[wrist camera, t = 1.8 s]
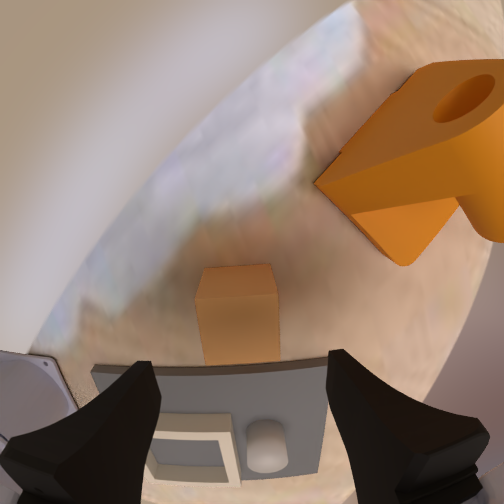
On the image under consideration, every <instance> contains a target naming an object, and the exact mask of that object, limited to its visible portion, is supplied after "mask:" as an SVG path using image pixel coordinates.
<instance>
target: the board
mask: <svg viewBox="0 0 504 504" xmlns="http://www.w3.org/2000/svg"><path fill="white" fill-rule="evenodd" d="M327 365H328V357H324V358H317V359H308V360H300V361H290V362H280V363H269V364H256V365H241V366H222V367H186V368H161V367H153V370H154V373H155V377H156V380H157V383H158V386H159V389H160V392H161V396H162V400H161V407H160V413H159V418H158V422H157V425H156V429H155V432H154V435H153V439H152V442H151V445H150V449H149V452H148V455H147V459H146V464H145V469H144V478H145V479H146V481H147V482H148V483H152V484H162V485H172V486H187V487H241V480H258V479H272V478H282V477H291V476H299V475H307V474H313V473H317V472H318V466H319V461H320V455H321V449H322V443H323V436H324V429H325V422H326V415H327V407H328V397H327V393H326V388H325V387H326V376H327ZM129 368H130V367H125V366H106V365H95V366H94V367H93V369H92V370H91V375H92V377H93V379H94V382H95V384H96V386H97V389H98V391H99V393H100V394H101V393H102V392H103V391H104V390H105V389H107V388H108V387H109V386H110V385H111V384H112V383H113V382H115V381H116V380H117V379H118V378H119V377H120V376H121V375H122V374H123V373H124V372H125V371H127V370H128V369H129Z"/></svg>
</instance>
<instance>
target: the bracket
mask: <svg viewBox="0 0 504 504" xmlns="http://www.w3.org/2000/svg"><path fill="white" fill-rule="evenodd" d="M339 152H340V153H341V154H340V155H339V156H338V157H337V158H336V159H335V161H334V162H333V163H332V164H331V165H330V166H329V167H328V168H327V169H326V170H325V172H324V173H323V174H322V175H321V176H320V177H319V178H318V179H317V180H316V181H315V183H314V184H315V185H316V186H317V187H318V188H319V189H320V190H321V191H322V192H323V193H324V194H325V195H326V196H327V197H328V198H329V199H330V200H331V201H332V202H333V203H334V204H335V205H336V206H337V207H338V208H339V209H340V210H341V211H342V212H343V213H344V214H345V215H346V216H347V217H348V218H349V219H350V220H351V221H352V222H353V223H354V224H355V225H356V226H357V227H358V228H359V229H360V230H361V231H362V232H363V233H364V235H365V236H366V237H367V238H368V239H369V240H370V241H371V242H372V243H373V244H374V245H375V246H376V247H377V248H378V249H379V251H380V252H381V253H382V254H383V255H385V256H386V257H388V258H389V259H390V260H392V261H393V262H395V263H396V264H397V265H399V266H408V265H410V264H412V263H413V262H414V261H415V260H416V259H417V258H418V257H419V255H420V254H421V253H422V252H423V251H424V249H425V248H426V247H427V246H428V245H429V243H430V242H431V241H432V240H433V239H434V237H435V236H436V235H437V234H438V232H439V231H440V230H441V229H442V227H443V226H444V225H445V223H446V222H447V221H448V220H449V218H450V217H451V216H452V214H453V213H454V212H455V210H456V209H457V208H458V206H459V205H460V206H461V208H462V209H463V211H464V213H465V214H466V216H467V218H468V219H469V221H470V223H471V224H472V226H473V228H474V229H475V231H476V232H477V233H478V234H479V235H481V236H482V237H484V238H485V239H487V240H490V241H493V242H498V243H504V59H480V60H459V61H445V62H435V63H431V64H428V65H426V66H424V67H422V68H419V69H417V70H416V71H415V73H414V74H413V75H412V76H411V77H410V78H409V79H408V80H407V81H406V82H405V84H404V85H403V86H402V87H401V88H400V89H399V90H398V91H397V92H395V93H392V94H391V95H390V96H389V97H388V98H387V100H386V101H385V102H384V103H383V104H382V105H381V106H380V107H379V108H378V109H377V110H376V112H375V113H374V114H373V115H372V116H371V117H370V118H369V119H368V120H367V121H366V122H365V124H364V125H363V126H362V127H361V128H360V129H359V130H358V131H357V132H356V133H355V135H354V136H353V137H352V138H351V139H350V140H349V141H348V142H347V143H346V144H345V146H344V147H343V148H342V149H341V150H340V151H339Z"/></svg>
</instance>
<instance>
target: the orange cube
mask: <svg viewBox="0 0 504 504" xmlns="http://www.w3.org/2000/svg"><path fill="white" fill-rule="evenodd" d="M195 306H196V312H197V318H198V324H199V330H200V336H201V342H202V348H203V353H204V359H205V364H206V365H229V364H246V363H260V362H272V361H280V327H279V297H278V290H277V287H276V283H275V280H274V276H273V272H272V269H271V265H270V264H257V265H243V266H229V267H215V268H204V272H203V275H202V278H201V281H200V284H199V287H198V290H197V293H196V296H195Z"/></svg>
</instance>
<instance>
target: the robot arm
mask: <svg viewBox="0 0 504 504" xmlns="http://www.w3.org/2000/svg"><path fill="white" fill-rule="evenodd" d="M325 388H326V393H327V397H328V401H329V405H330V409H331V412H332V414H333V417H334V419H335V422H336V425H337V427H338V430H339V432H340V435H341V437H342V440H343V443H344V445H345V448H346V451H347V454H348V457H349V461H350V466H351V470H352V474H353V479H354V483H355V488H356V493H357V499H358V504H504V462H503V463H502V464H500V465H498V466H497V467H495V468H494V469H492V470H490V471H488V472H487V473H485V474H484V475H483V476H481V477H480V478H479V479H478V477H477V476H476V474H475V473H477V472H478V468H477V466H476V465H475V462H476V461H477V460H478V458H479V457H480V455H481V454H482V453H483V451H484V450H485V448H486V446H487V445H488V442H489V439H490V435H489V433H488V431H487V430H486V429H485V427H484V426H483V425H482V423H481V422H480V421H479V419H478V418H473V417H468V416H462V415H457V414H453V413H449V412H446V411H443V410H439V409H436V408H433V407H431V406H428V405H426V404H423V403H421V402H419V401H416V400H414V399H412V398H410V397H408V396H407V395H405V394H403V393H401V392H399V391H397V390H396V389H394V388H393V387H391V386H390V385H388V384H387V383H385V382H384V381H382V380H381V379H379V378H378V377H377V376H375V375H374V374H373V373H371V372H370V371H369V370H368V369H366V368H365V367H364V366H363V365H361V364H360V363H359V362H358V361H357V360H356V359H354V358H353V357H352V356H351V355H350V354H349V353H347V352H346V351H345V350H344V349H338V350H331V351H329V353H328V365H327V376H326V387H325ZM161 400H162V396H161V392H160V389H159V386H158V383H157V380H156V377H155V373H154V370H153V366H152V363H151V361H137V362H136V363H134V364H133V365H132V366H131V367H130V368H129V369H128V370H127V371H125V372H124V373H123V374H122V375H121V376H120V377H119V378H118V379H117V380H116V381H115V382H113V383H112V384H111V385H110V386H109V387H108V388H107V389H105V390H104V391H103V392H102V393H101V394H99V395H98V396H97V397H96V398H94V399H93V400H92V401H90V402H89V403H88V404H86V405H85V406H83V407H82V408H80V409H79V410H78V408H77V406H76V404H75V402H74V400H73V398H72V396H71V394H70V392H69V390H68V388H67V386H66V384H65V382H64V380H63V378H62V375H61V373H60V371H59V369H58V366H57V364H56V362H55V360H54V359H52V358H50V357H42V356H34V355H27V354H20V353H14V352H7V351H2V350H0V504H141V493H142V483H143V476H144V469H145V464H146V459H147V455H148V452H149V449H150V445H151V442H152V439H153V435H154V432H155V429H156V425H157V422H158V418H159V413H160V407H161Z"/></svg>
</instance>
